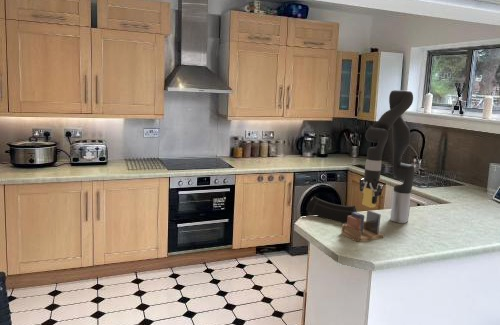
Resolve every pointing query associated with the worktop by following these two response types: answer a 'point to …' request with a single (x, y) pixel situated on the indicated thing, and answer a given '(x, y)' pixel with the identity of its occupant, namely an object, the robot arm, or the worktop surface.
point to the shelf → (359, 234)
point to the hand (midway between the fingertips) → (369, 201)
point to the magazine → (330, 210)
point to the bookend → (373, 221)
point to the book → (368, 197)
